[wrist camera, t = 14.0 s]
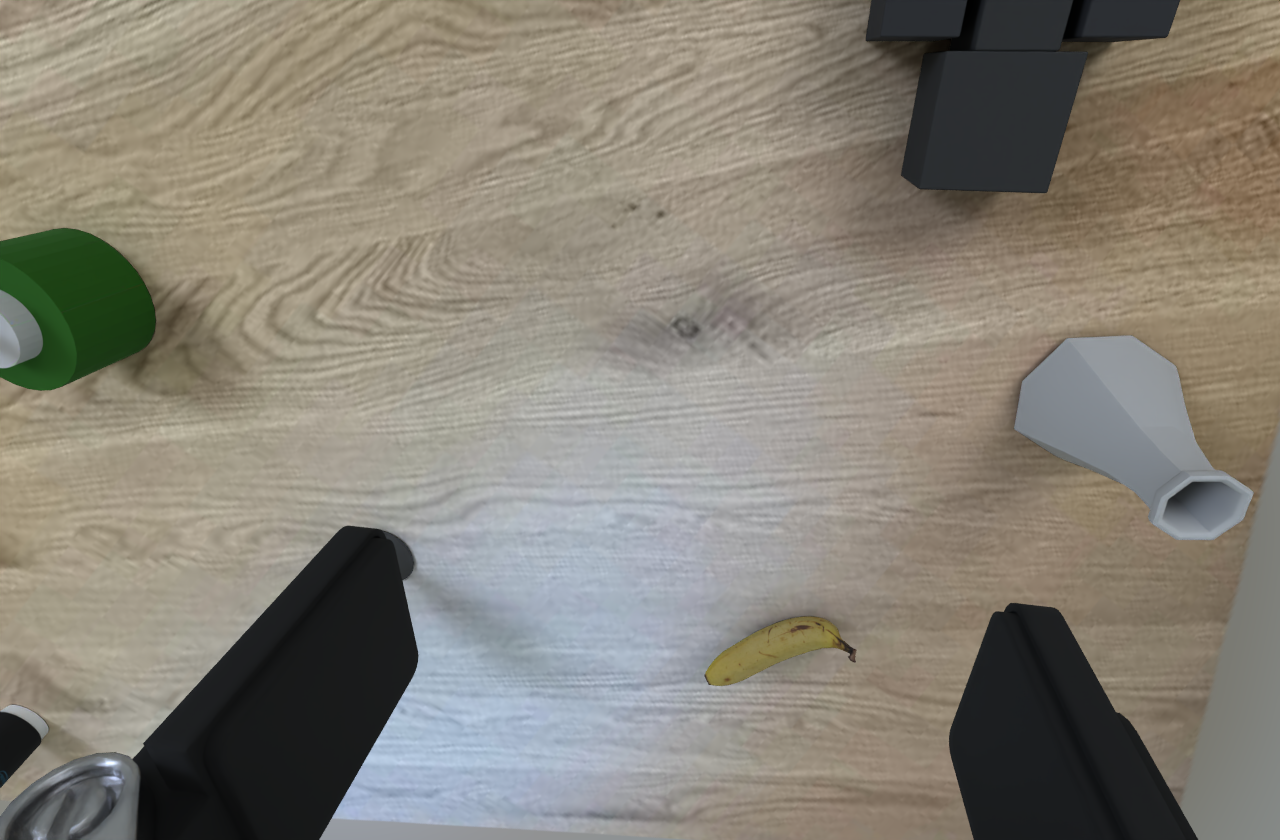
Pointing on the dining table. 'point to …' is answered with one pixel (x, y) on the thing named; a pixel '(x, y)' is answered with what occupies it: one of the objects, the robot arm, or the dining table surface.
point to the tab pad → (995, 100)
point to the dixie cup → (18, 738)
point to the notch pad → (1101, 12)
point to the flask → (1130, 431)
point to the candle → (68, 308)
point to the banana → (774, 648)
